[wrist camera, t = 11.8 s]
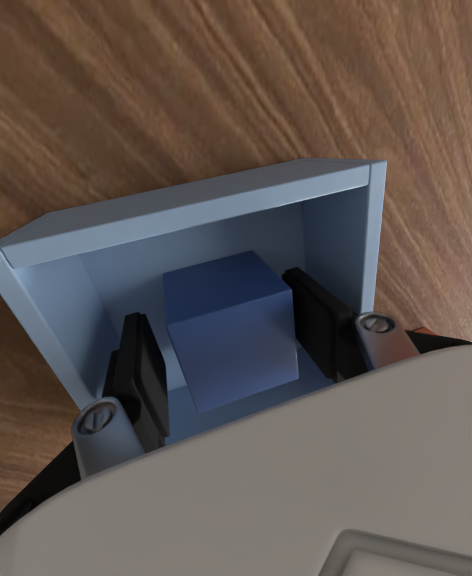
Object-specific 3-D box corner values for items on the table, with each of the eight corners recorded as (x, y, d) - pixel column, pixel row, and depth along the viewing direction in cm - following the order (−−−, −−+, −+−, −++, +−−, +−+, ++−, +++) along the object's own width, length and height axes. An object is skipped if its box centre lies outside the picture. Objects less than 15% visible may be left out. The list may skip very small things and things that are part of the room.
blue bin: (141, 401, 16) (136, 492, 12) (46, 212, 11) (-30, 254, 6) (313, 344, 18) (364, 406, 13) (306, 157, 12) (388, 159, 8)
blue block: (186, 345, 14) (197, 414, 11) (162, 273, 12) (165, 326, 9) (263, 322, 15) (299, 379, 11) (252, 249, 13) (292, 289, 9)
